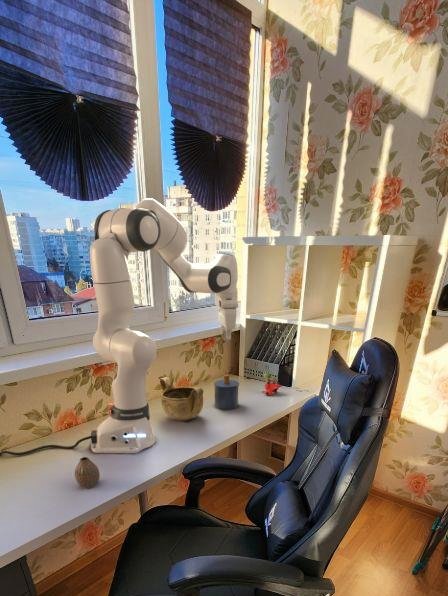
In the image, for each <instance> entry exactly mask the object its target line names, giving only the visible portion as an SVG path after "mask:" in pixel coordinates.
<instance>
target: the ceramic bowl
mask: <svg viewBox="0 0 448 596" xmlns="http://www.w3.org/2000/svg"><path fill="white" fill-rule="evenodd" d="M159 384H160V387H161V390H162V392H161V398H160V399H161V401H160V402H161V407H162V410H163V411H164V414H166V416H167V417H169V418H170V419H172V420H174V421H178V422H185V421H190V420H192V419H194V418H196V417H197V416H198V415H199V414H200V413H201V412H202V410H203V408H204V407H203V406H204V389H203V387H201V386H198V387H194V386H176V387H175V386H174V384H173V382H172V380H171V378H170V377H168V376H166V377H162V378H160V379H159Z"/></svg>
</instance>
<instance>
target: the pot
mask: <svg viewBox="0 0 448 596" xmlns="http://www.w3.org/2000/svg"><path fill="white" fill-rule="evenodd" d="M213 386H214V385H213ZM213 389H214V407H215V409H218V410H228V411H229V410H234V409H237V407H239V386H237V387H234V388H219V387H216V386H214V387H213Z"/></svg>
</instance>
